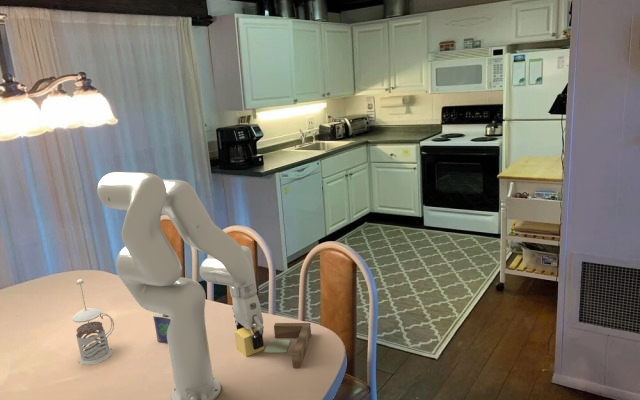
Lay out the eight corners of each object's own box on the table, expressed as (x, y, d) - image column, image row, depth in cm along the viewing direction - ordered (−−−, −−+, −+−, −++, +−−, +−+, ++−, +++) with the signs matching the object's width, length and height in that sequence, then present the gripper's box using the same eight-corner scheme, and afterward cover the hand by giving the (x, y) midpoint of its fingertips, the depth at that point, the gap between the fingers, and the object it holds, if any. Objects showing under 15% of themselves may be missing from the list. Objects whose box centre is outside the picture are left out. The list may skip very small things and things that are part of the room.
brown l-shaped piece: (300, 368, 133) (298, 354, 132) (256, 367, 135) (255, 354, 134) (311, 334, 150) (310, 322, 150) (272, 334, 152) (271, 322, 152)
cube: (264, 349, 144) (262, 331, 143) (246, 357, 141) (243, 338, 140) (254, 341, 149) (252, 324, 148) (236, 349, 146) (234, 331, 144)
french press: (73, 356, 149) (57, 280, 143) (112, 341, 156) (98, 268, 151) (82, 369, 142) (65, 289, 136) (123, 353, 149) (108, 276, 143)
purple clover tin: (155, 341, 154) (150, 310, 152) (162, 337, 157) (157, 306, 154) (178, 346, 150) (173, 314, 148) (184, 341, 153) (180, 310, 150)
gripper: (269, 293, 136) (276, 347, 140) (240, 276, 150) (248, 326, 154) (245, 302, 132) (253, 358, 136) (218, 284, 146) (226, 335, 150)
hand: (250, 341), depth 145 cm, fingers open, 9 cm apart
